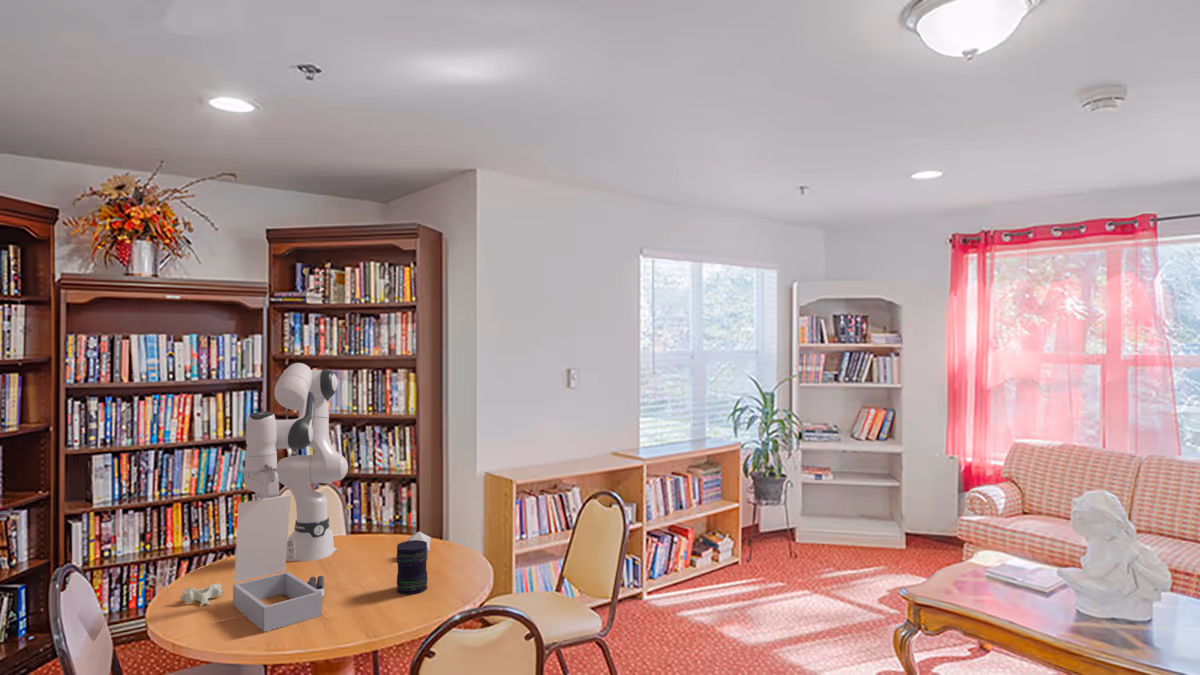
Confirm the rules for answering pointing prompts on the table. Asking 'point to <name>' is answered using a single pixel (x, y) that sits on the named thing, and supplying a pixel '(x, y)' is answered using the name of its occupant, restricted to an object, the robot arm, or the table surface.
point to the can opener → (319, 583)
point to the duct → (283, 613)
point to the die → (421, 539)
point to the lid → (261, 537)
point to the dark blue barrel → (412, 567)
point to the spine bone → (201, 594)
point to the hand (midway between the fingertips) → (261, 506)
